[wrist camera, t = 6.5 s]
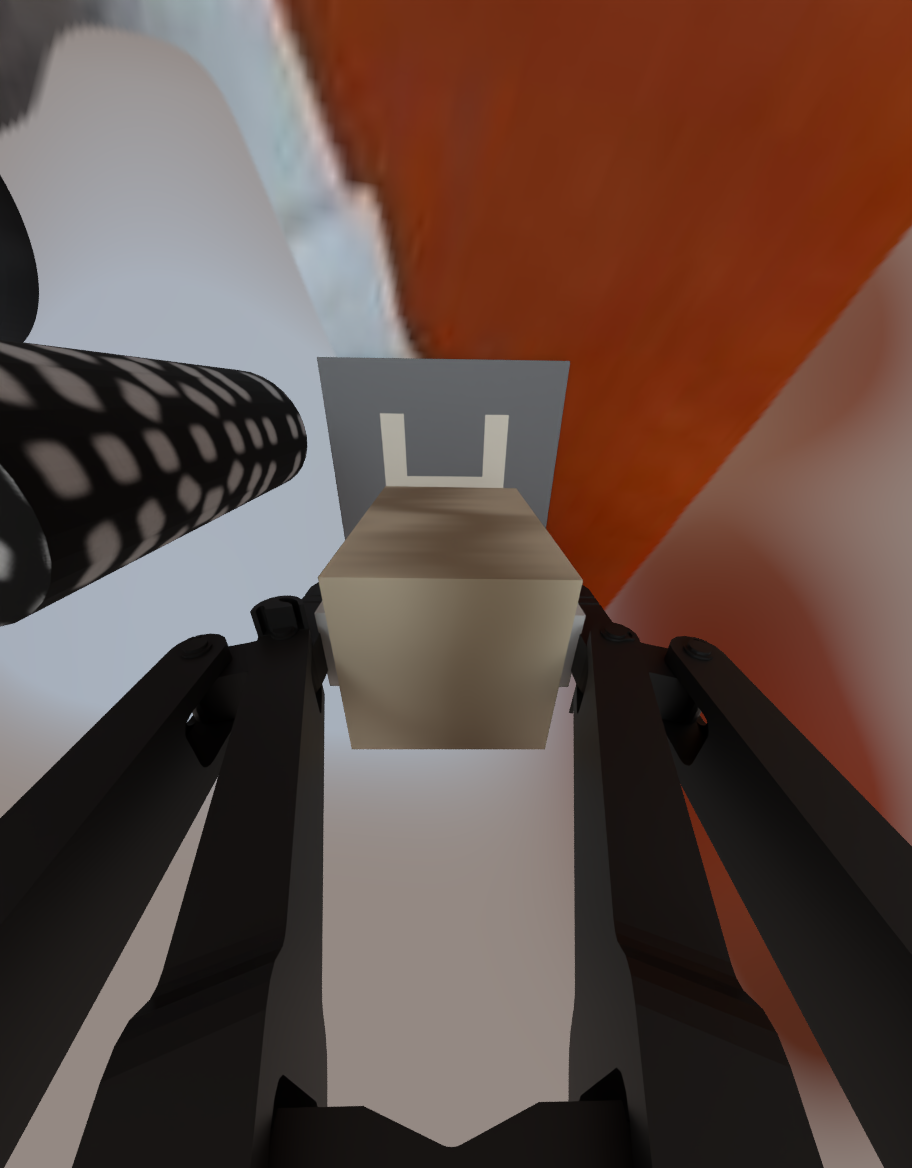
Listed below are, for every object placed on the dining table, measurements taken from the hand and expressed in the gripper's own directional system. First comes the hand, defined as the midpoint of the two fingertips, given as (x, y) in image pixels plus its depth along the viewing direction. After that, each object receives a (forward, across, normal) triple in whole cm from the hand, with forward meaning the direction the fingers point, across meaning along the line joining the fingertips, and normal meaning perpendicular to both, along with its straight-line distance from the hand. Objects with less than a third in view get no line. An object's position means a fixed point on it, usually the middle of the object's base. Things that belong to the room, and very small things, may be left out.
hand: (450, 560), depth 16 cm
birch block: (+2, 0, 0) cm, 2 cm away
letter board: (+15, 0, 0) cm, 15 cm away
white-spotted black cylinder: (+15, -16, +4) cm, 22 cm away
